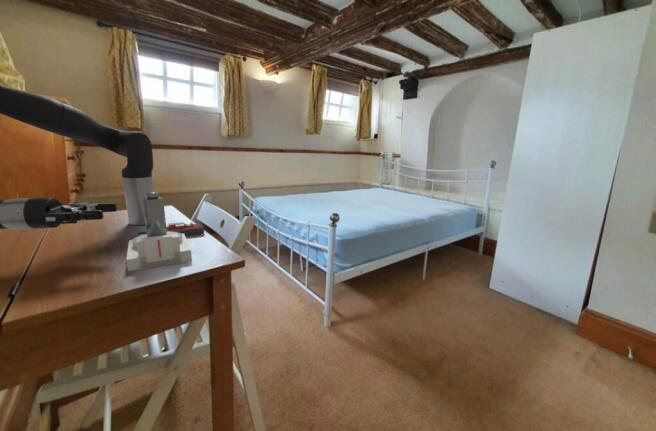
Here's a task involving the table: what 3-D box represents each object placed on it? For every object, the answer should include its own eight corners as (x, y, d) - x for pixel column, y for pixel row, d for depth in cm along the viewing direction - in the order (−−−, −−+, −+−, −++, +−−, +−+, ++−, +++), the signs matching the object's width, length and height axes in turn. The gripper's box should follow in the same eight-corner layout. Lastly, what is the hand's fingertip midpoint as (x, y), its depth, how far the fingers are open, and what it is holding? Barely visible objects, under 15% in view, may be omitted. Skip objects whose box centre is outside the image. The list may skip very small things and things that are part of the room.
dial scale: (130, 250, 83) (127, 224, 81) (184, 242, 90) (182, 219, 89) (128, 272, 70) (123, 242, 68) (192, 261, 77) (189, 234, 75)
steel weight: (147, 236, 82) (141, 191, 78) (166, 234, 84) (162, 190, 81) (147, 241, 78) (141, 194, 75) (167, 239, 80) (163, 193, 77)
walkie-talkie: (203, 228, 106) (138, 236, 96) (203, 217, 105) (137, 223, 95) (208, 235, 99) (138, 244, 89) (207, 222, 98) (136, 230, 88)
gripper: (7, 204, 64) (95, 202, 68) (47, 193, 77) (118, 192, 82) (15, 237, 66) (100, 232, 70) (52, 220, 79) (122, 218, 84)
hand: (109, 210), depth 76 cm, fingers open, 8 cm apart
